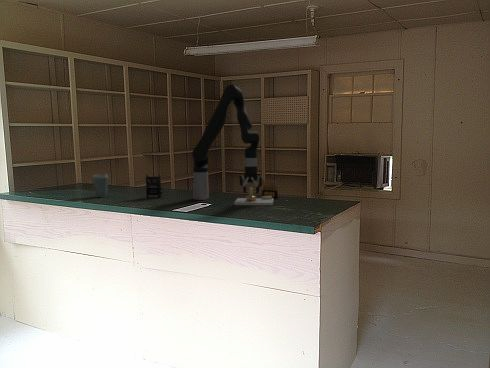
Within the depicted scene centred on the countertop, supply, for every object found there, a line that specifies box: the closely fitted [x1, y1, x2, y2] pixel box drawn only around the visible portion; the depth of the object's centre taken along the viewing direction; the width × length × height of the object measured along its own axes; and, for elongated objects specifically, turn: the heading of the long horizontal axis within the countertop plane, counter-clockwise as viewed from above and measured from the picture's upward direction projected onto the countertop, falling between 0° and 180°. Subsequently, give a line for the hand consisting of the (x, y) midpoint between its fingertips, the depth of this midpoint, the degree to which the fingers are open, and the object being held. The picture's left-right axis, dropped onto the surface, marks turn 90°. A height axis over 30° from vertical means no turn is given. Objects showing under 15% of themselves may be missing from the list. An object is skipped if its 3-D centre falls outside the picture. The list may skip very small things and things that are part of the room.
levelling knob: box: [245, 186, 257, 200], centre depth 259 cm, size 9×6×7 cm
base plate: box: [233, 195, 275, 206], centre depth 259 cm, size 22×15×3 cm
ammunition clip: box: [261, 178, 279, 200], centre depth 276 cm, size 11×2×12 cm, turn 63°
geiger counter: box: [145, 174, 163, 199], centre depth 283 cm, size 10×4×15 cm, turn 84°
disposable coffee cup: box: [91, 173, 109, 198], centre depth 288 cm, size 11×11×15 cm
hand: (251, 193), depth 260 cm, fingers open, 7 cm apart
